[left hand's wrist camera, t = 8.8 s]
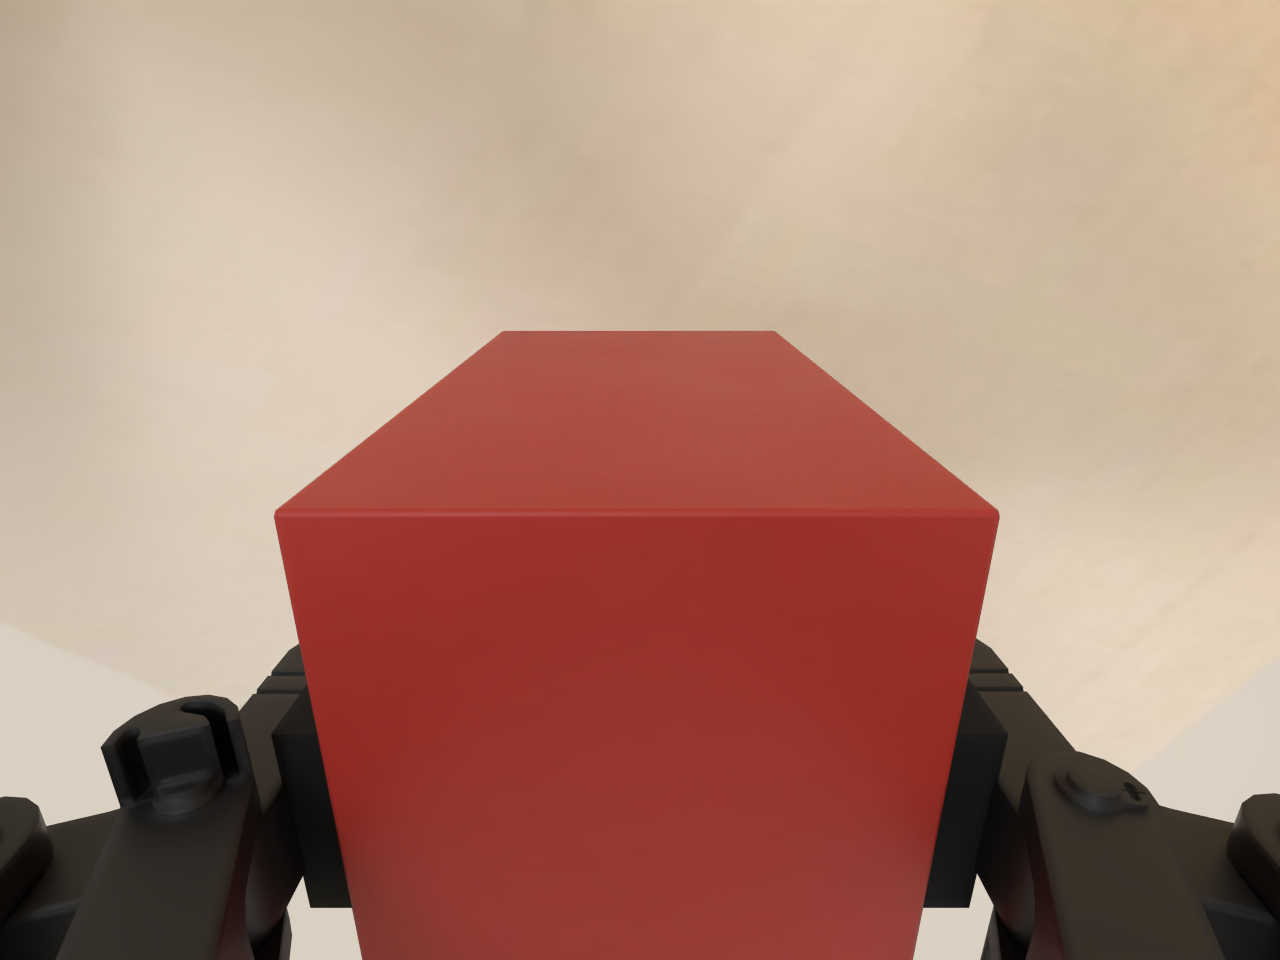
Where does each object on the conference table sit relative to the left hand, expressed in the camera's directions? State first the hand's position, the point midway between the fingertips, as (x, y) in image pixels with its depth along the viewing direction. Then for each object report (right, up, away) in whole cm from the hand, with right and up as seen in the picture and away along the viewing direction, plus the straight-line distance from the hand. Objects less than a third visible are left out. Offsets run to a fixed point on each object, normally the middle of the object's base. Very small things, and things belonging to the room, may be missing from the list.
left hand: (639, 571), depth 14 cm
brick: (0, +2, +4) cm, 5 cm away
